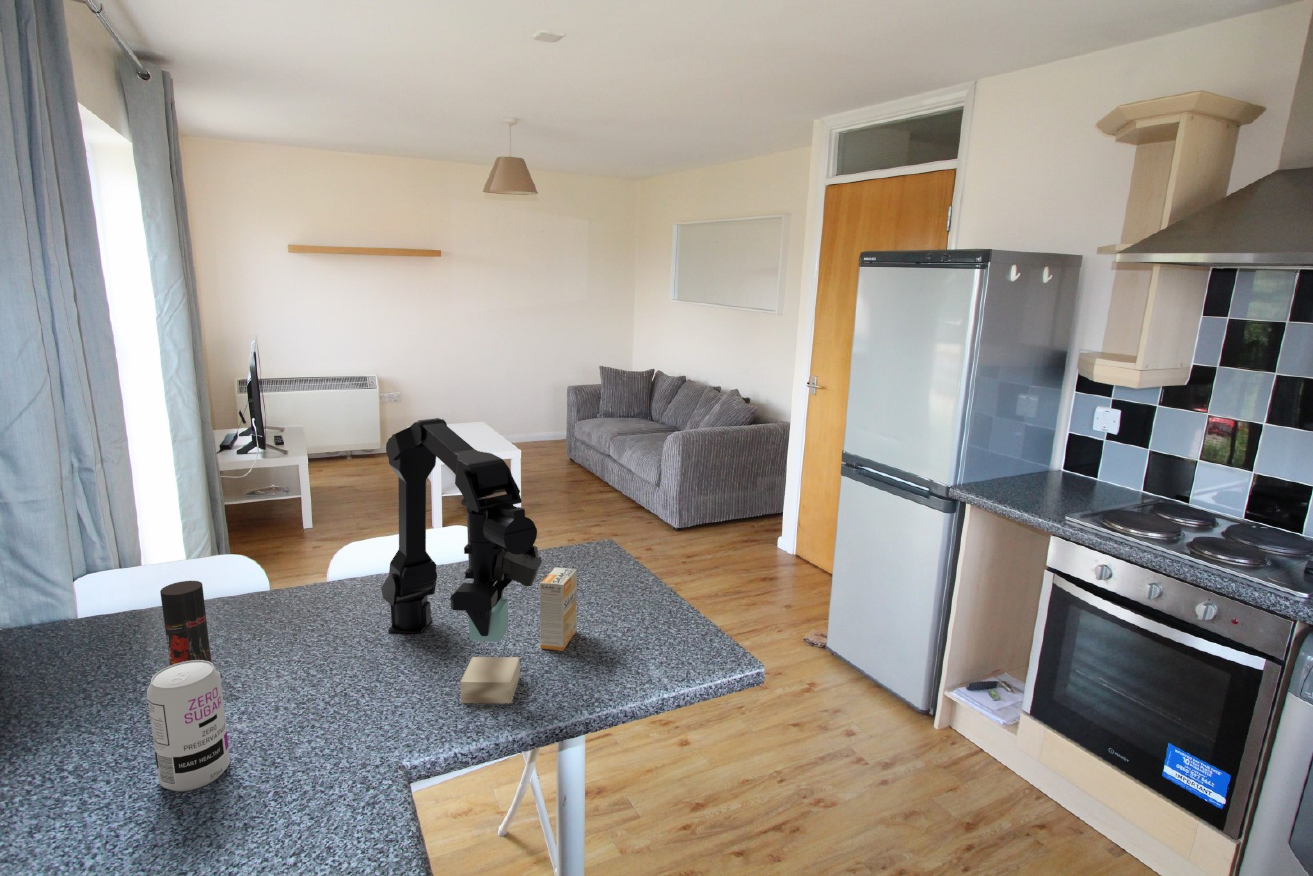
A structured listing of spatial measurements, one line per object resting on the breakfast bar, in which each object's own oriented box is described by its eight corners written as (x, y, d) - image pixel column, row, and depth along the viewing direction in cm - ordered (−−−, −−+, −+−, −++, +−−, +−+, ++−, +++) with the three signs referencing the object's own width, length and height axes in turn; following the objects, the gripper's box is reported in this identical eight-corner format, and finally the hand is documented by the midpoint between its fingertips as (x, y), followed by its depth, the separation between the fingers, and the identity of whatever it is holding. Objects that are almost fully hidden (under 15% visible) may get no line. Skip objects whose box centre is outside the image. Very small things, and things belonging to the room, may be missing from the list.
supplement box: (564, 652, 133) (563, 585, 130) (539, 649, 134) (538, 582, 131) (578, 631, 141) (577, 568, 138) (554, 629, 141) (553, 566, 139)
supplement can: (180, 756, 102) (167, 658, 99) (241, 754, 102) (231, 657, 99) (145, 796, 94) (130, 691, 91) (212, 793, 94) (199, 689, 91)
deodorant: (219, 665, 126) (210, 584, 123) (185, 681, 121) (174, 597, 117) (197, 657, 128) (187, 578, 125) (163, 673, 123) (152, 590, 120)
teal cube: (469, 640, 115) (468, 611, 114) (478, 626, 120) (477, 598, 119) (500, 641, 115) (499, 612, 114) (508, 627, 120) (507, 599, 119)
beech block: (461, 704, 116) (460, 682, 115) (473, 678, 124) (472, 657, 123) (511, 705, 116) (510, 682, 115) (519, 678, 124) (519, 657, 123)
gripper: (522, 560, 105) (524, 658, 108) (548, 520, 123) (549, 605, 126) (447, 557, 106) (451, 655, 109) (483, 518, 124) (486, 603, 127)
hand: (489, 628), depth 118 cm, fingers closed on teal cube, 5 cm apart
